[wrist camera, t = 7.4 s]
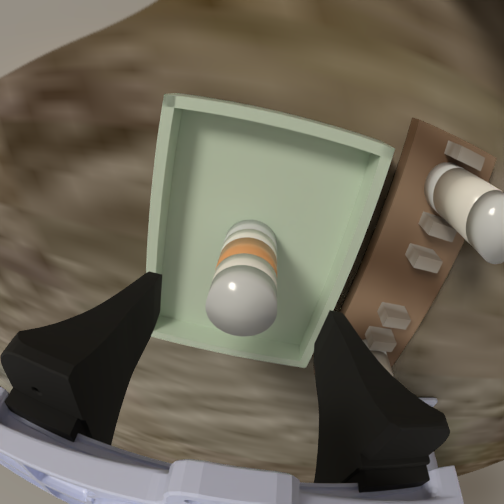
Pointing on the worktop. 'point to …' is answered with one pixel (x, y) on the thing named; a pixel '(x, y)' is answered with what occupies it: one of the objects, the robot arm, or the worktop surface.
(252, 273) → the marked fuse
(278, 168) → the tray
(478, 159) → the fuse holder
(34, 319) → the worktop surface
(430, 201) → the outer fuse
